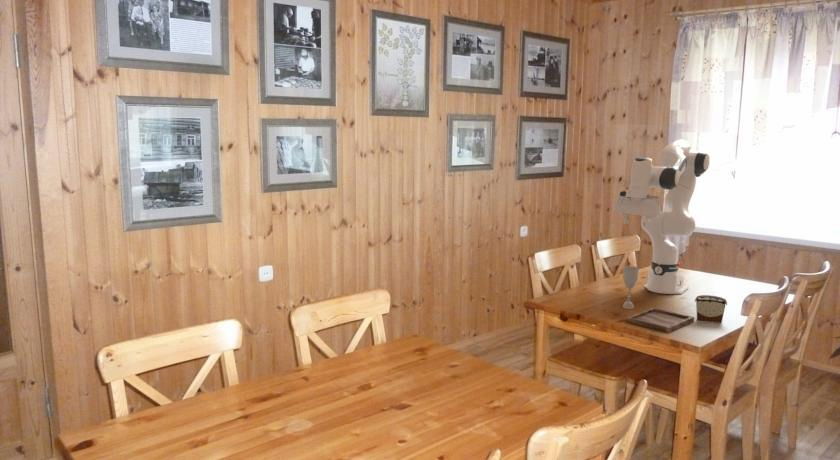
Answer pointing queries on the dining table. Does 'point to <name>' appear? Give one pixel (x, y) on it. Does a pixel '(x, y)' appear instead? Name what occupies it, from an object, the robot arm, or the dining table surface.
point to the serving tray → (660, 320)
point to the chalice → (629, 282)
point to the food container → (710, 308)
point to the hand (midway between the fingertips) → (635, 225)
